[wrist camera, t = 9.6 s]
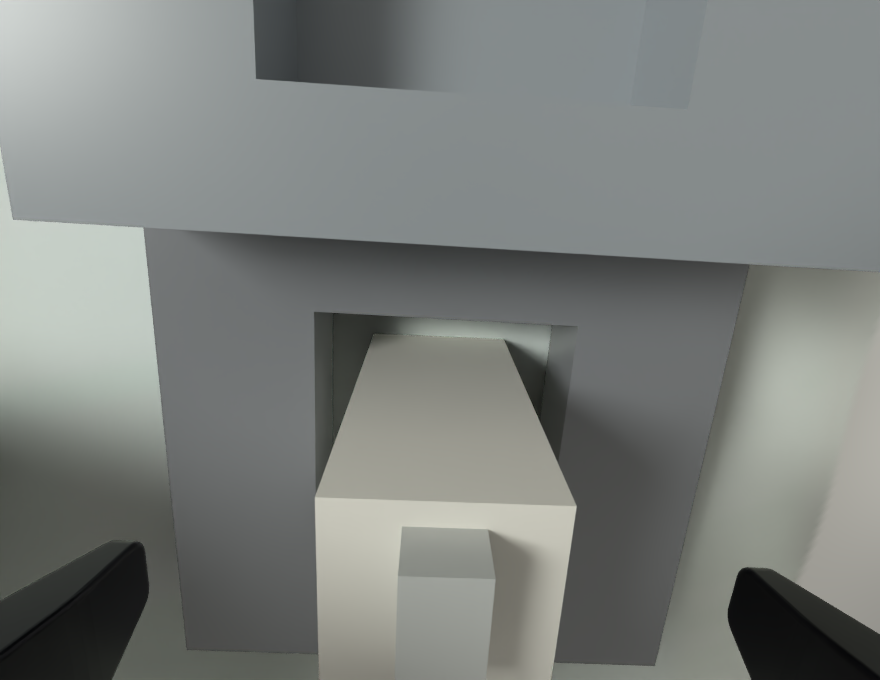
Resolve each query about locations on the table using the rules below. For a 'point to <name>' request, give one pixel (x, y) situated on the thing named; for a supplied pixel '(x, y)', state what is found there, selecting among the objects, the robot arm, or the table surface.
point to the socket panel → (288, 414)
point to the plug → (440, 521)
